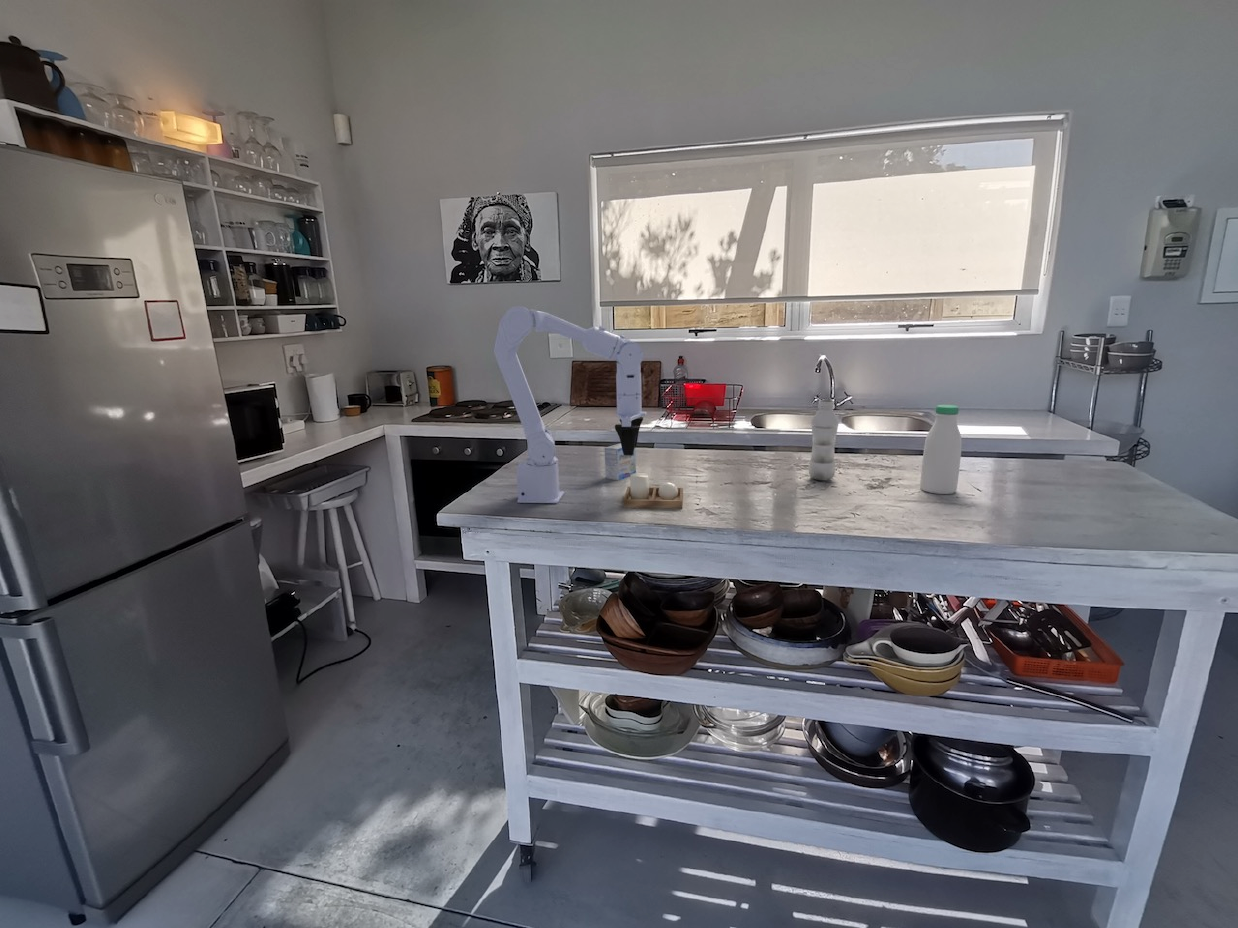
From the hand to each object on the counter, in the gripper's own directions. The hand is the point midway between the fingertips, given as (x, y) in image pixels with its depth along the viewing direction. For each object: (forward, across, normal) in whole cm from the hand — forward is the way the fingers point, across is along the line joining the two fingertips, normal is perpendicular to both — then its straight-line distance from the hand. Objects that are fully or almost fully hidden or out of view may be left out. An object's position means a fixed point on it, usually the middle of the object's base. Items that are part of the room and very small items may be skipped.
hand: (630, 451), depth 143 cm
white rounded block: (+10, -7, -3) cm, 12 cm away
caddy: (+10, -7, -6) cm, 14 cm away
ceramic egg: (+10, -7, -9) cm, 15 cm away
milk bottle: (+11, +6, -72) cm, 73 cm away
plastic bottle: (+11, +14, -47) cm, 50 cm away
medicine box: (+11, +14, +4) cm, 18 cm away
